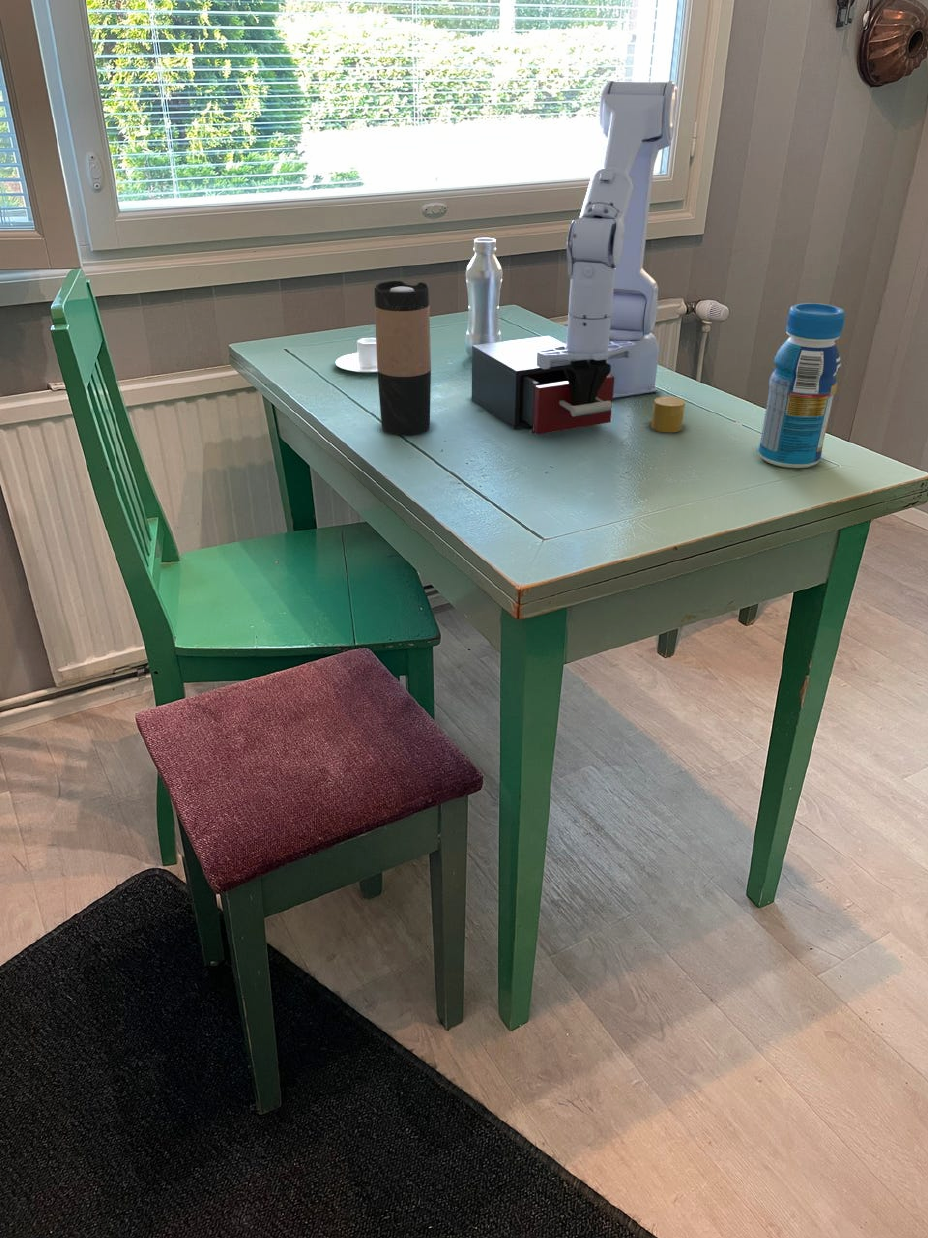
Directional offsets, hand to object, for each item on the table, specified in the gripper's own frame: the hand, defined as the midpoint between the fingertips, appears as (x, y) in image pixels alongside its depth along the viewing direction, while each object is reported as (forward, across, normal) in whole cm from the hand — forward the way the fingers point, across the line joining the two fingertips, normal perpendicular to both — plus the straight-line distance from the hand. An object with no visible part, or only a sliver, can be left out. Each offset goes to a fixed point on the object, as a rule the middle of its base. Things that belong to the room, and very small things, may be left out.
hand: (582, 413), depth 132 cm
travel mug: (+4, -21, +15) cm, 26 cm away
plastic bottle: (+3, +5, +42) cm, 42 cm away
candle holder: (+4, -15, +46) cm, 48 cm away
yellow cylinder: (+4, +14, -1) cm, 15 cm away
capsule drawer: (+3, 0, +6) cm, 7 cm away
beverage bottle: (+4, +22, -18) cm, 29 cm away
